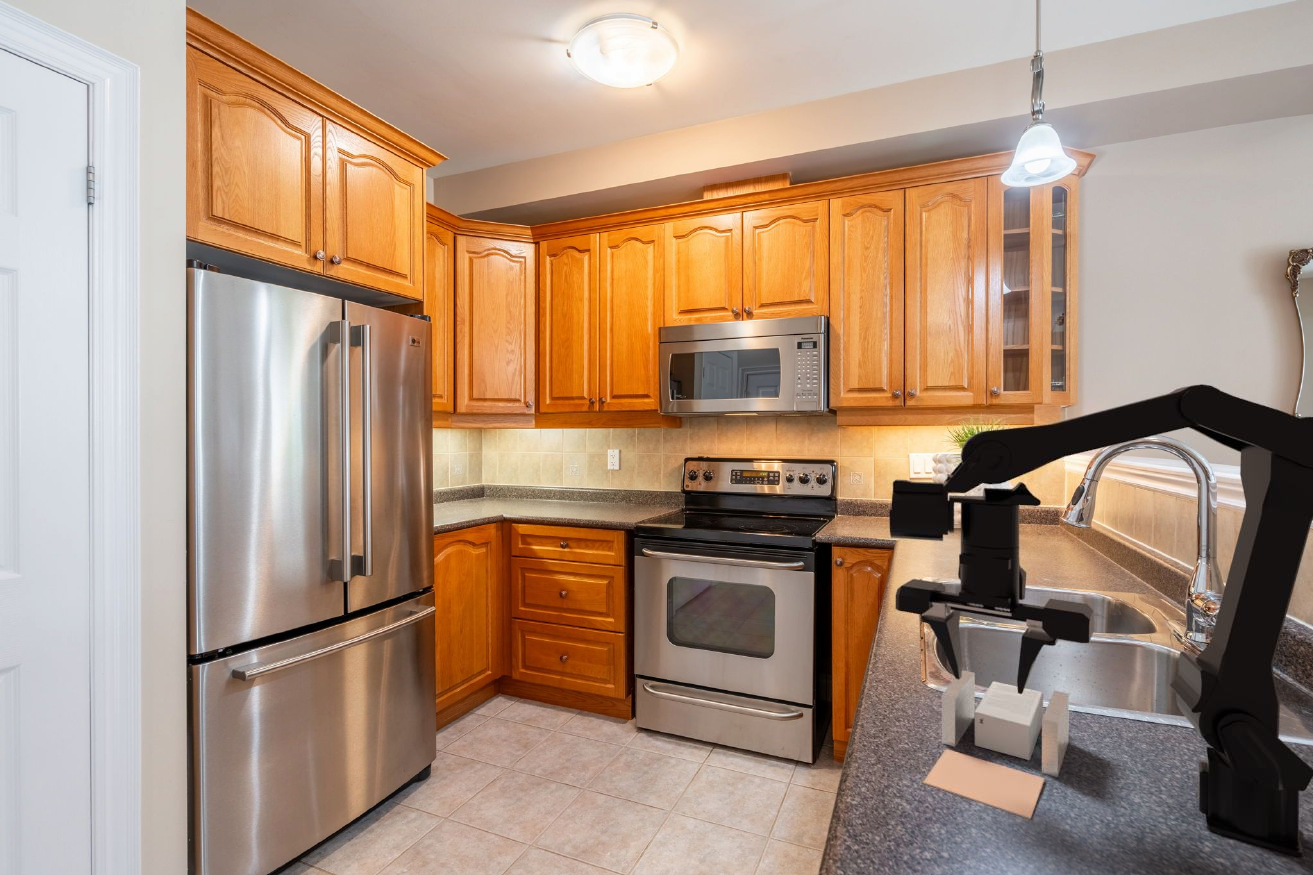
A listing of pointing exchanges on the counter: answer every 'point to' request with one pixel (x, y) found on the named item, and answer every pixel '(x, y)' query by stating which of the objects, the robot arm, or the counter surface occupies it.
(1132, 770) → the counter surface
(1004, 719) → the skincare box
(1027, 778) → the tile
